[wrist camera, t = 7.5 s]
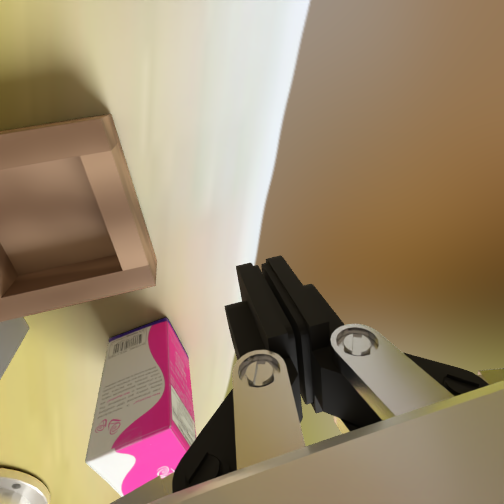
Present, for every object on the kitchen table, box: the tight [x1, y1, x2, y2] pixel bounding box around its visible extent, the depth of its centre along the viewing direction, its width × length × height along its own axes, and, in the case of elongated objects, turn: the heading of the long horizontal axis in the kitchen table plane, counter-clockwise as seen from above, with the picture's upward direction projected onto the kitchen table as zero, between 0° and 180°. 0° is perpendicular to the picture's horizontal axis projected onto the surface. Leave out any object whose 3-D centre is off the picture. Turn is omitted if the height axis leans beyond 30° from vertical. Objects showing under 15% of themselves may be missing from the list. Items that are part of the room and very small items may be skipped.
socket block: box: [0, 114, 157, 322], centre depth 22 cm, size 12×12×4 cm
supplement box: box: [85, 317, 196, 497], centre depth 27 cm, size 6×6×12 cm
